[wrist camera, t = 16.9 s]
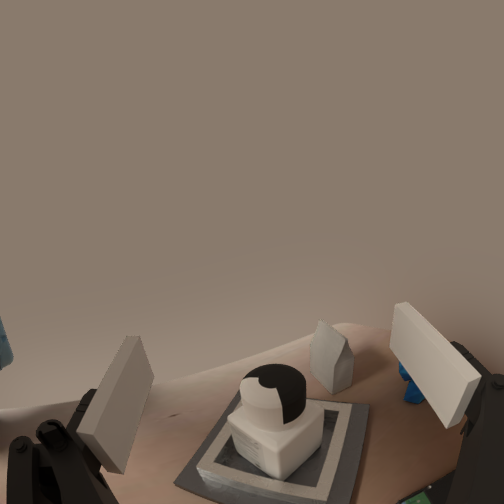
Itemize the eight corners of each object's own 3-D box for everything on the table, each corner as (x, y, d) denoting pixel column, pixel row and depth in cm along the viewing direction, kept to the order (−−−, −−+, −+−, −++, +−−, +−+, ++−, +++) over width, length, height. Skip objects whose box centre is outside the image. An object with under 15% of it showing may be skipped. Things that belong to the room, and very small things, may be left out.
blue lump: (470, 349, 33) (431, 372, 28) (449, 395, 34) (406, 423, 30) (436, 330, 39) (391, 346, 35) (419, 375, 41) (373, 396, 36)
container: (277, 419, 36) (270, 347, 32) (322, 444, 30) (328, 372, 26) (235, 451, 31) (216, 382, 27) (280, 484, 25) (274, 420, 21)
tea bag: (332, 395, 40) (335, 344, 37) (310, 372, 46) (309, 322, 43) (351, 385, 41) (356, 334, 38) (328, 364, 47) (329, 315, 44)
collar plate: (175, 485, 26) (166, 473, 25) (242, 390, 43) (239, 375, 42) (340, 531, 18) (344, 523, 17) (368, 408, 35) (372, 392, 34)
